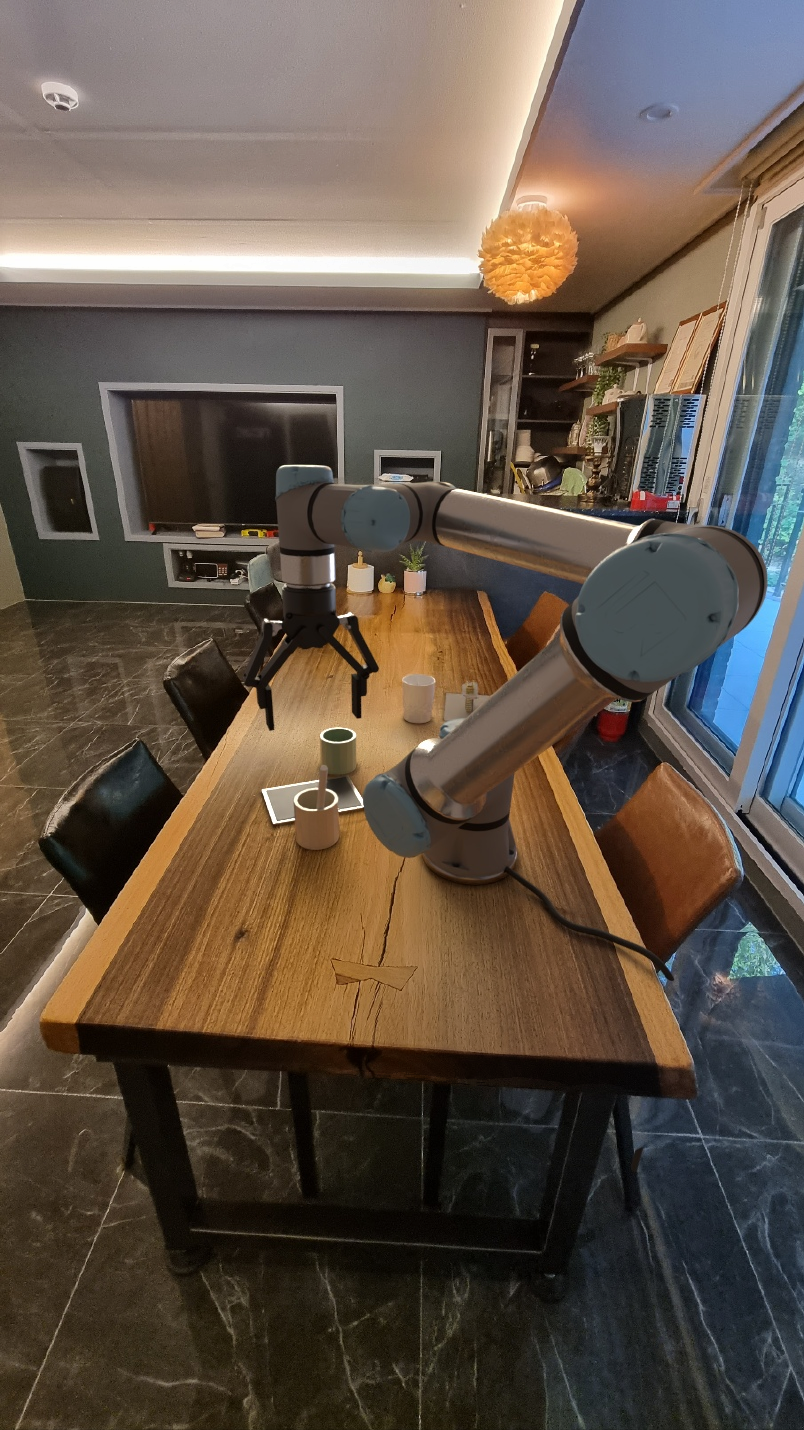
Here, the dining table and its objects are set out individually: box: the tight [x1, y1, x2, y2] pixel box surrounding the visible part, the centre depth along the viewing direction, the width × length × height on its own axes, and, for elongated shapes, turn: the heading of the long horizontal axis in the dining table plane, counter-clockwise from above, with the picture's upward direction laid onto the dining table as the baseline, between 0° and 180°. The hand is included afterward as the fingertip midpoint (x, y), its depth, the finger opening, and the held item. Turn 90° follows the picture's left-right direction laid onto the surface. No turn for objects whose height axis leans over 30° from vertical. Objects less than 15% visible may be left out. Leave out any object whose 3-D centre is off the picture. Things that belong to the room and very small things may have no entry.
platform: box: [443, 679, 491, 722], centre depth 155 cm, size 12×18×7 cm, turn 174°
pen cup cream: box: [294, 788, 340, 851], centre depth 102 cm, size 7×7×8 cm
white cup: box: [401, 673, 436, 724], centre depth 147 cm, size 8×8×10 cm
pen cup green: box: [319, 727, 358, 776], centre depth 124 cm, size 7×7×8 cm
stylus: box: [316, 765, 328, 809], centre depth 98 cm, size 1×1×16 cm
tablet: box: [261, 775, 364, 827], centre depth 113 cm, size 12×17×1 cm
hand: (314, 721), depth 95 cm, fingers open, 13 cm apart
